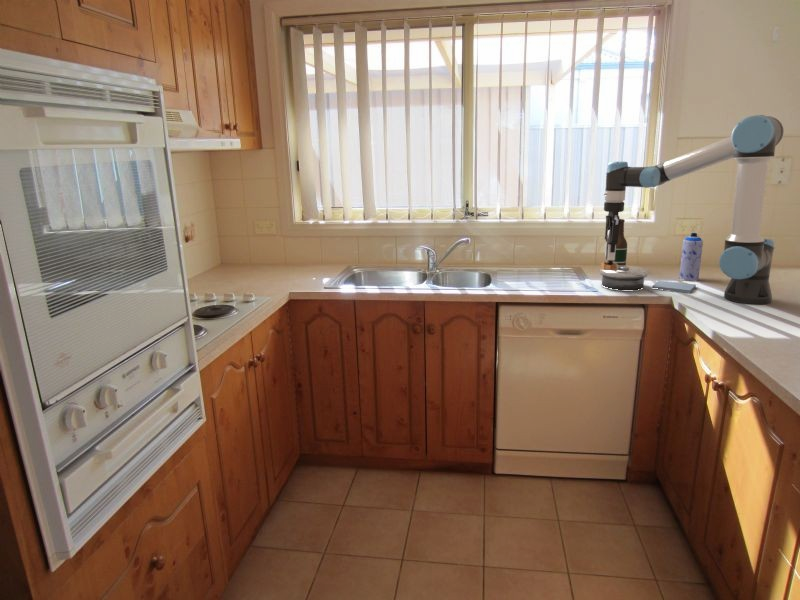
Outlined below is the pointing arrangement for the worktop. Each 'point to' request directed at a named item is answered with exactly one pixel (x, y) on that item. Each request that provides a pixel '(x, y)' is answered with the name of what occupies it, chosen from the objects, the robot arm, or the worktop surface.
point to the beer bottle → (621, 246)
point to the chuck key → (609, 262)
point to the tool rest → (674, 286)
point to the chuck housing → (622, 283)
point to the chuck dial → (622, 271)
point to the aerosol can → (691, 257)
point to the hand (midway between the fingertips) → (609, 258)
